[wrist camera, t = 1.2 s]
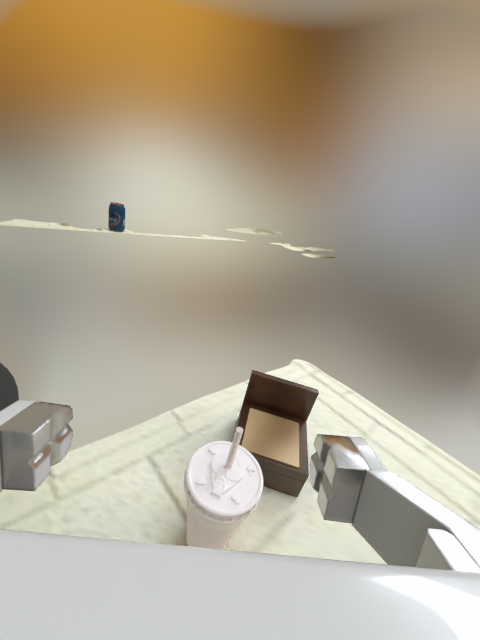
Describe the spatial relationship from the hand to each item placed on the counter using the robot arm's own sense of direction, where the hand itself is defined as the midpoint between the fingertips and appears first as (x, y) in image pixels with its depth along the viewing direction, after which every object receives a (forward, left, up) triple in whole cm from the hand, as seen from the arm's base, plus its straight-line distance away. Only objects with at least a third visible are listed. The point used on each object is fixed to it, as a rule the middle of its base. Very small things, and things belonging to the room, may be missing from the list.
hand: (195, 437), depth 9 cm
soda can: (-78, +116, -22) cm, 142 cm away
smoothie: (+2, +8, -22) cm, 24 cm away
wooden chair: (+6, +20, -22) cm, 30 cm away
